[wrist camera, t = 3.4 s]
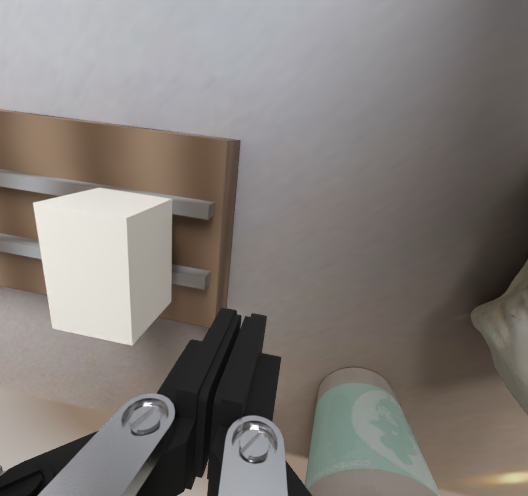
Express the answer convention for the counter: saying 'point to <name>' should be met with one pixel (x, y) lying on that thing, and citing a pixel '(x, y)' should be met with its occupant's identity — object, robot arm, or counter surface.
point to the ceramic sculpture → (508, 335)
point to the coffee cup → (363, 441)
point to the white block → (106, 261)
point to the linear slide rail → (129, 180)
